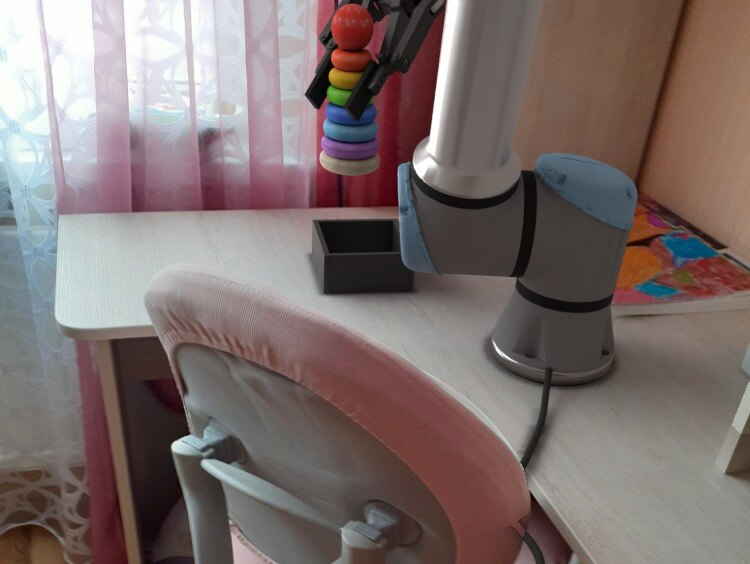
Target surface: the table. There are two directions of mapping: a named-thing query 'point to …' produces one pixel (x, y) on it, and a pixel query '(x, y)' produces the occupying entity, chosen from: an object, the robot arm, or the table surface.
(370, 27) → the stacking toy
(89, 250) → the table surface
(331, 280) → the box
